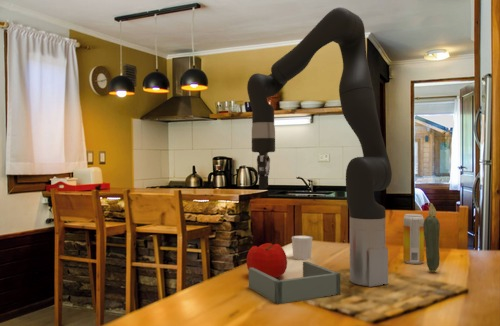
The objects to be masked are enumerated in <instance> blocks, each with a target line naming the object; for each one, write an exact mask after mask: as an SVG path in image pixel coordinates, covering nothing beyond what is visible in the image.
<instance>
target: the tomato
mask: <svg viewBox="0 0 500 326" xmlns="http://www.w3.org/2000/svg"><path fill="white" fill-rule="evenodd" d="M287 258H288V257H287V255H286V252H285V250H284V248H283V247H282V246H281V244H279V243H274V244H272V243H271V242H270V243H269V242H268V243H267V242H266V243H264V244H261V245H259V246H257V245H252V246H251V248H249V250H248V252H247V256H246V267H247V271H248V272H249V268H255V269H257V270H259V271H261V272H263V273H265V274H267V275H269V276H271V277H274V278H276V279H277V278H279V277H281V276H282V275H284V273H286V270H287V266H288V259H287Z"/></svg>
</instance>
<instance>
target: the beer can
mask: <svg viewBox="0 0 500 326" xmlns="http://www.w3.org/2000/svg"><path fill="white" fill-rule="evenodd" d="M402 220H403V226H402V228H403V230H402V231H403V234H402V235H403V240H402V241H403V245H402V247H403V254H402V255H403V256H402V257H403V261H404V262H405V264H410V265H421V264H423V262H424V260H425V259H424V258H425V237H424V229H423V224H424V220H425V218H424V216H423V214H419V213H405V214H404V216H403V219H402Z"/></svg>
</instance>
